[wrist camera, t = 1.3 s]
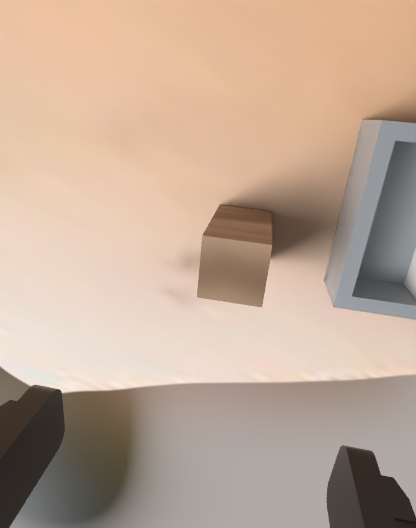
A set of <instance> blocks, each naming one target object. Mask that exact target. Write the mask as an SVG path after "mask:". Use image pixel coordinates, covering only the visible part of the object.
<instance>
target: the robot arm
mask: <svg viewBox="0 0 416 528" xmlns="http://www.w3.org/2000/svg"><path fill="white" fill-rule="evenodd" d="M64 431H65V424H64V413H63V401H62V393H61V391H60V390H59V389H55V388H49V387H44V386H39V385H33V386H31V387H30V388H29V389H28V390H27V391H26V392H25V393H24V395H23V396H22V397H21V398H20V399H19V400H18V401H13V400H10V401H8V402H7V403H5V404H3V405H2V406H0V528H9V527H10V525H11V524H12V522H13V521H14V519H15V517H16V516H17V514H18V513H19V511H20V510H21V508H22V506H23V505H24V503H25V501H26V500H27V498H28V497H29V495H30V494H31V492H32V491H33V488H34V487H35V486H36V484H37V483H38V481H39V479H40V478H41V476H42V475H43V473H44V471H45V470H46V468H47V467H48V465H49V463H50V462H51V460H52V458H53V457H54V456H55V454H56V452H57V451H58V449H59V447H60V445H61V442H62V439H63V436H64ZM327 510H328V516H329V523H330V528H416V517H415V514H414V511H413V509H412V506H411V503H410V500H409V498H408V497H407V496H406V494H405V493H404V492H403V490H402V489H401V488H400V486H399V485H398V484H397V482H396V481H395V479H394V478H392V477H387V476H382V475H381V474H380V471H379V467H378V464H377V461H376V458H375V455H374V453H373V452H372V451H369V450H364V449H359V448H353V447H348V446H341V447H340V449H339V452H338V455H337V458H336V461H335V464H334V467H333V470H332V473H331V476H330V479H329V483H328V488H327Z"/></svg>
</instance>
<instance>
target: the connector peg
mask: <svg viewBox="0 0 416 528" xmlns="http://www.w3.org/2000/svg"><path fill="white" fill-rule="evenodd" d="M271 251H272V211H265V210H258V209H250V208H242V207H234V206H226V205H219V207H218V209H217V211H216V212H215V214H214V216H213V218H212V220H211V221H210V223H209V225H208V227H207V228H206V230H205V232H204V234H203V236H202V247H201V258H200V269H199V280H198V291H197V297H199V298H205V299H212V300H218V301H225V302H231V303H237V304H244V305H250V306H257V307H262V304H263V298H264V292H265V286H266V280H267V275H268V269H269V263H270V257H271Z"/></svg>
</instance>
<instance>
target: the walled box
mask: <svg viewBox="0 0 416 528" xmlns="http://www.w3.org/2000/svg"><path fill="white" fill-rule="evenodd" d="M324 281H325V284H326V287H327V290H328V293H329V296H330V299H331V302H332V305H333V307H336V308H343V309H349V310H356V311H363V312H369V313H376V314H382V315H389V316H395V317H402V318H409V319H415V320H416V123H408V122H398V121H387V120H362V124H361V128H360V132H359V137H358V141H357V145H356V149H355V153H354V157H353V162H352V166H351V170H350V174H349V178H348V183H347V187H346V191H345V195H344V199H343V203H342V208H341V212H340V216H339V220H338V224H337V228H336V233H335V237H334V241H333V245H332V249H331V253H330V258H329V262H328V266H327V270H326V274H325V279H324Z"/></svg>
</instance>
